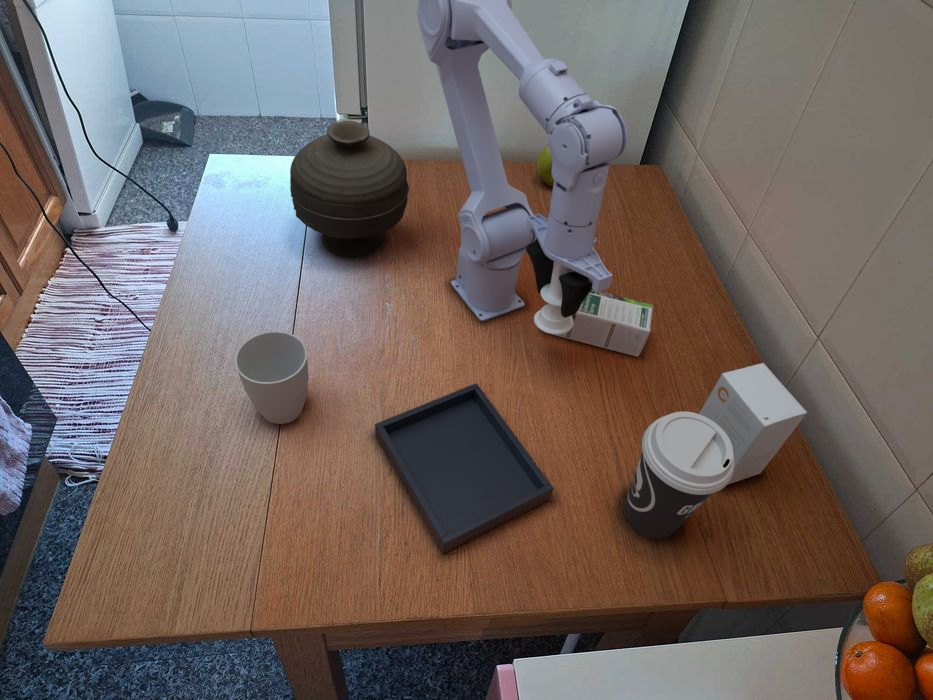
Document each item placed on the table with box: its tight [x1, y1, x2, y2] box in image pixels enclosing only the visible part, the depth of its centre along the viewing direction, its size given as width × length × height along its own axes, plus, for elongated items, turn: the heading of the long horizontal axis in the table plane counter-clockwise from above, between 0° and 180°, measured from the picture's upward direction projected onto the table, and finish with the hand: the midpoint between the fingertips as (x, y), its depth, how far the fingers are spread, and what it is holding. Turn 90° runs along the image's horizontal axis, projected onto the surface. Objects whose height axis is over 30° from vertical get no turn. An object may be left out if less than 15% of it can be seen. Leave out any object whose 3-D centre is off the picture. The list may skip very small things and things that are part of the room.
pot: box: [289, 120, 410, 260], centre depth 99 cm, size 18×18×20 cm
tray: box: [374, 382, 554, 555], centre depth 78 cm, size 18×15×3 cm
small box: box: [698, 362, 808, 486], centre depth 79 cm, size 8×6×13 cm
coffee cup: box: [623, 411, 734, 540], centre depth 71 cm, size 10×10×15 cm
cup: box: [234, 330, 309, 425], centre depth 79 cm, size 8×8×10 cm
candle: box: [533, 261, 574, 335], centre depth 83 cm, size 5×5×12 cm
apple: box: [536, 144, 554, 188], centre depth 120 cm, size 8×9×8 cm
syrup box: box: [544, 289, 654, 357], centre depth 94 cm, size 6×6×14 cm
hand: (556, 302), depth 85 cm, fingers closed on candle, 5 cm apart
